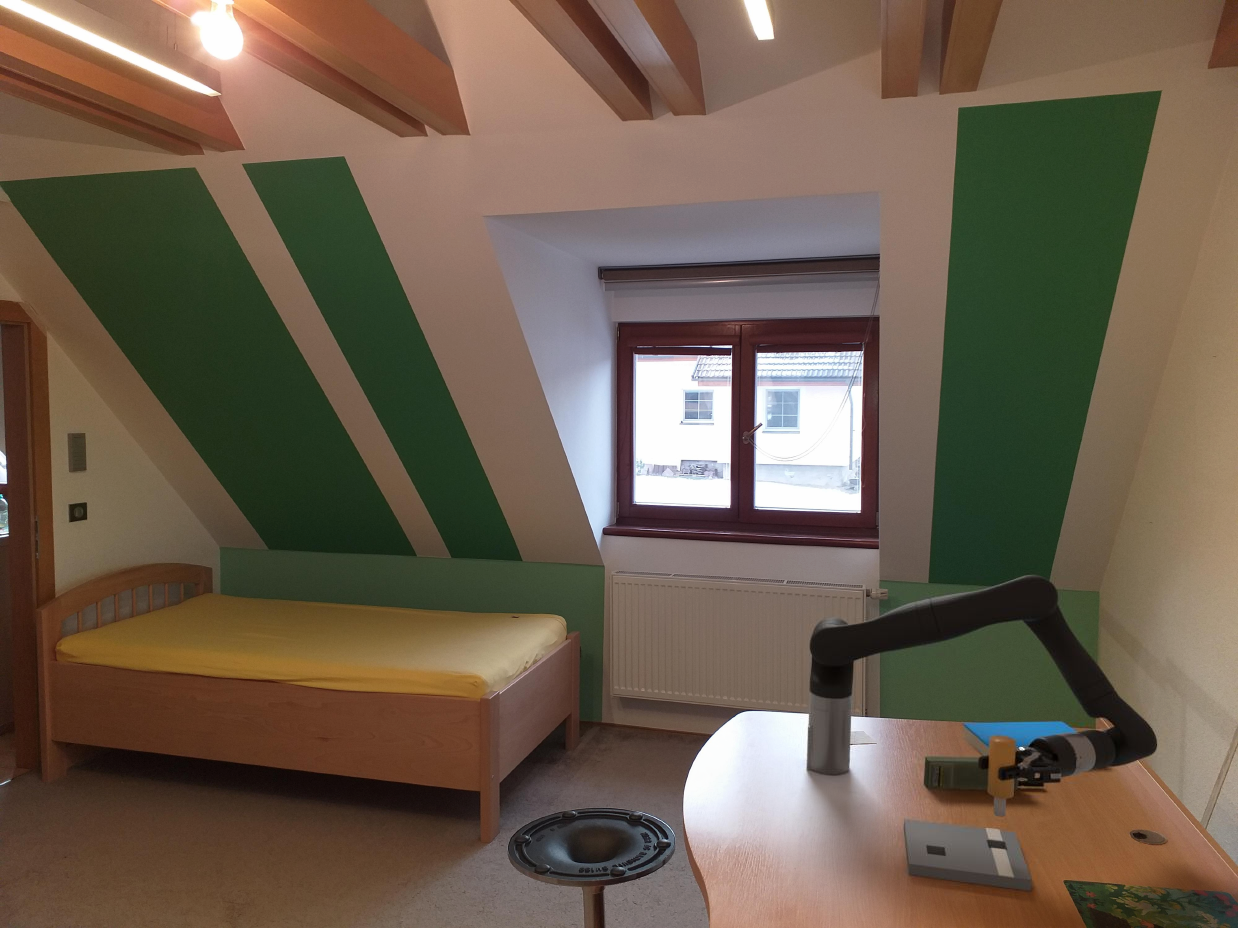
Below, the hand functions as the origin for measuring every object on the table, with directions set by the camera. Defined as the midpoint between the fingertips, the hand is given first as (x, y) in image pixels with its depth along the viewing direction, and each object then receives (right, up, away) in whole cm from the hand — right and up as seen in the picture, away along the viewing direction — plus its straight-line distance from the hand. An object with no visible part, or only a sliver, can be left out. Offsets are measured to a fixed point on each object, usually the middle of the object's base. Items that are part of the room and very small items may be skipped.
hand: (989, 768), depth 168 cm
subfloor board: (-4, -17, +2) cm, 17 cm away
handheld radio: (+11, -14, +31) cm, 36 cm away
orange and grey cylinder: (+3, -9, +2) cm, 9 cm away
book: (+29, -13, +50) cm, 60 cm away
